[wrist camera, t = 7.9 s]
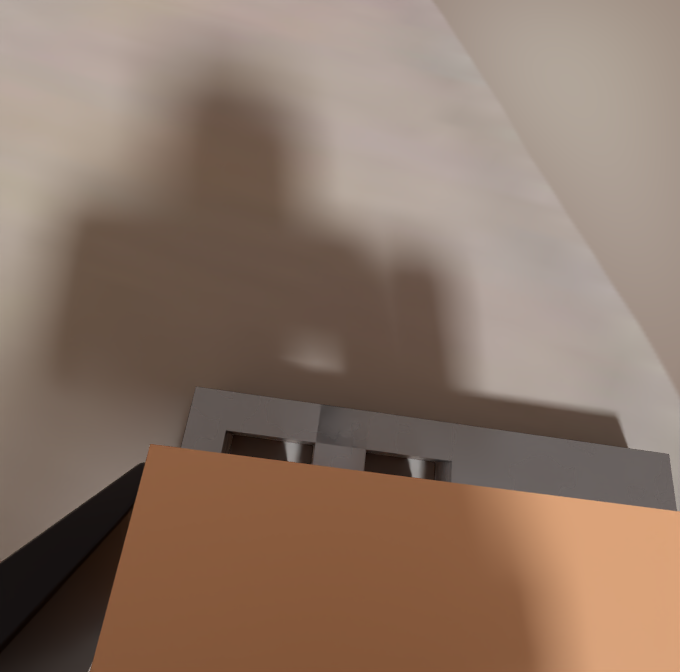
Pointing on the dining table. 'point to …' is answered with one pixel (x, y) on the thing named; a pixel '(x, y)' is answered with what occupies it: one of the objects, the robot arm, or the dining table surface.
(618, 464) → the gray slotted base
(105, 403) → the dining table surface
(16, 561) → the robot arm
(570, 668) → the clip
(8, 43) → the dining table surface
